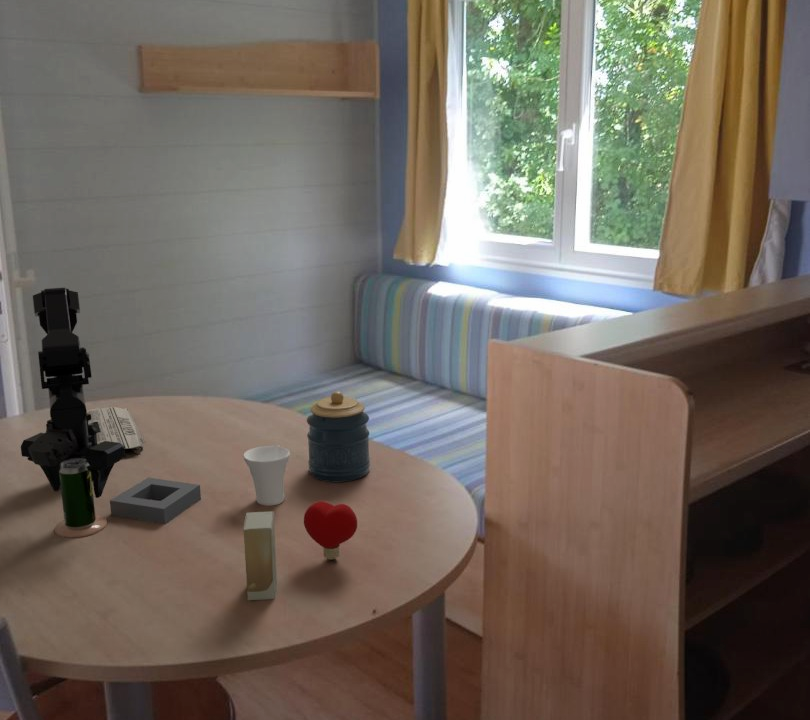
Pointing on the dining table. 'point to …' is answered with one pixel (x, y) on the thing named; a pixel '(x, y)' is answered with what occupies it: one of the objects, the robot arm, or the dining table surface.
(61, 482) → the beer can
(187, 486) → the square frame
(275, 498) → the cup
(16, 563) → the dining table surface
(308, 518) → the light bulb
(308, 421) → the canister
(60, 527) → the coaster
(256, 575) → the skincare box
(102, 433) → the newspaper
